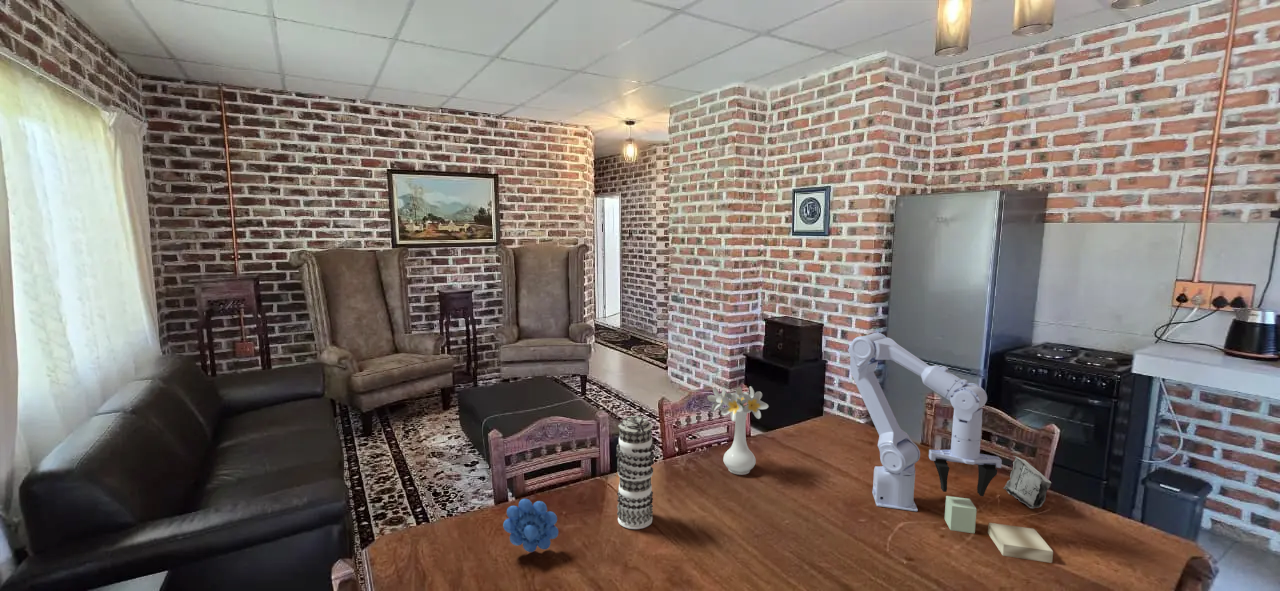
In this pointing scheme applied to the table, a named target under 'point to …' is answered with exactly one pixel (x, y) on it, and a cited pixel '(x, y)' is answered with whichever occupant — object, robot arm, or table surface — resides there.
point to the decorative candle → (635, 473)
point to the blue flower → (531, 525)
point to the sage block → (960, 514)
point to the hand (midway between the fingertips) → (961, 492)
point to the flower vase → (738, 425)
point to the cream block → (1020, 542)
